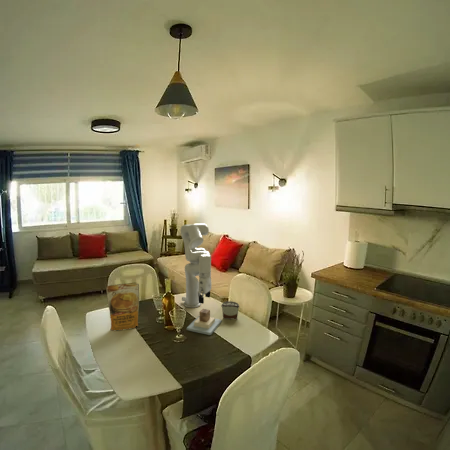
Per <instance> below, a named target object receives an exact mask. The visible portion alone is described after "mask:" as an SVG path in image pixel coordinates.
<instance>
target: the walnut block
mask: <svg viewBox="0 0 450 450" xmlns="http://www.w3.org/2000/svg"><path fill="white" fill-rule="evenodd" d="M198 316H199V321H203V322H207V321H208V320H209V319H210V317H211V309H207V308H202V309H200V311H199V314H198Z"/></svg>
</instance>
